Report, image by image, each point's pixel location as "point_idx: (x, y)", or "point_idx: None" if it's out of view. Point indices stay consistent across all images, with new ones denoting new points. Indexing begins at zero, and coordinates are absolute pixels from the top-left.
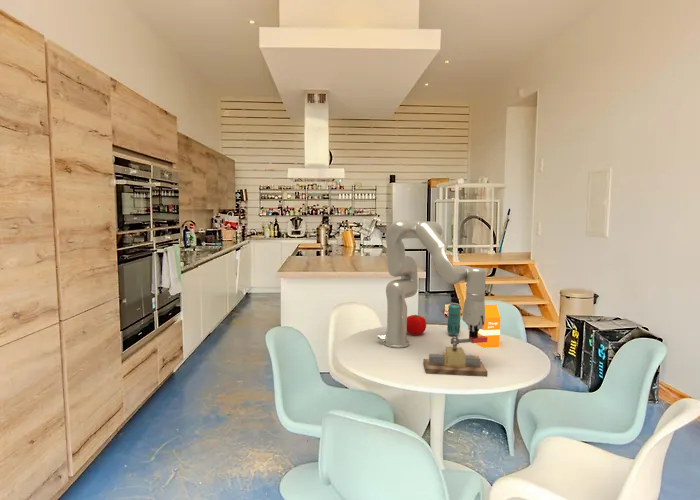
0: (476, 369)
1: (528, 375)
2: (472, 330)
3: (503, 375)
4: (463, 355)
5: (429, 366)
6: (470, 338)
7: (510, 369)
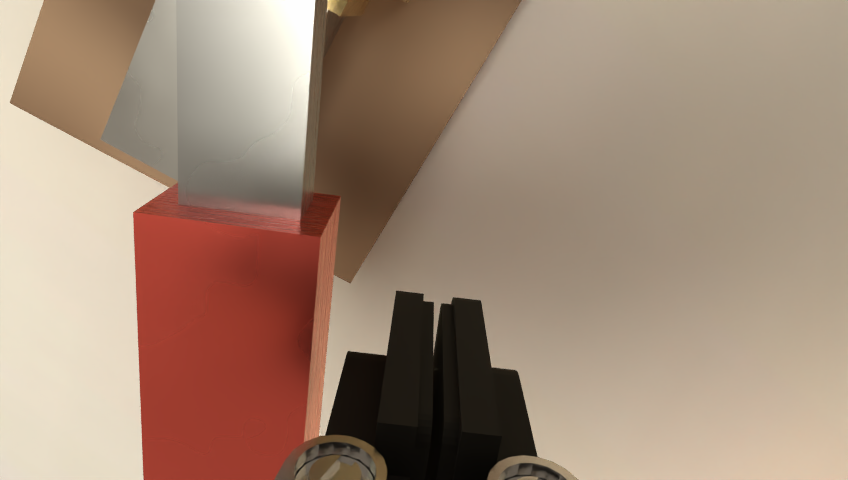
0: (106, 20)
1: (6, 469)
2: (345, 473)
3: (47, 277)
4: None
5: None
6: (264, 217)
7: None
